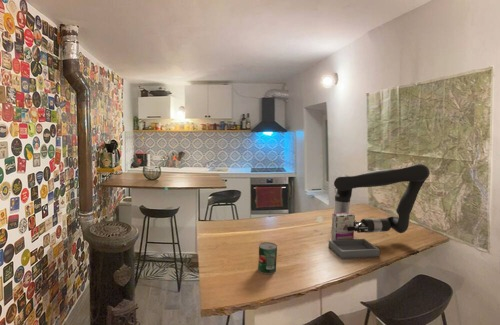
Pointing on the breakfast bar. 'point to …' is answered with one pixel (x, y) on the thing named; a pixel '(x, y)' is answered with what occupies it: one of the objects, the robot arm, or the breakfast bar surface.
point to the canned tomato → (267, 258)
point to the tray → (353, 249)
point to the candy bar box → (342, 226)
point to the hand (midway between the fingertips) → (343, 226)
